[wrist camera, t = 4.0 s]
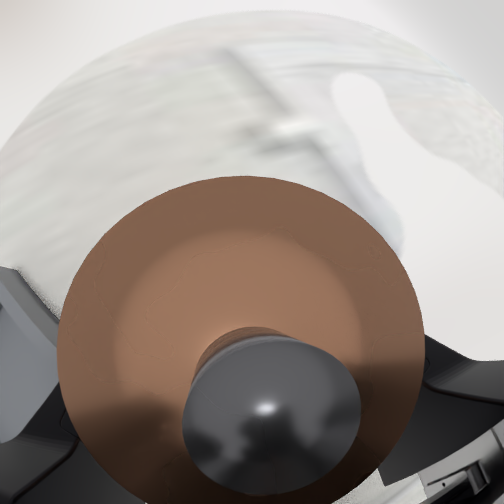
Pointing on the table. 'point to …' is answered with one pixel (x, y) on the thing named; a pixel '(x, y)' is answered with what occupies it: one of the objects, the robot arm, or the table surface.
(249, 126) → the table surface
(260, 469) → the copper bottle
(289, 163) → the table surface
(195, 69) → the table surface
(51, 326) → the fill tray
